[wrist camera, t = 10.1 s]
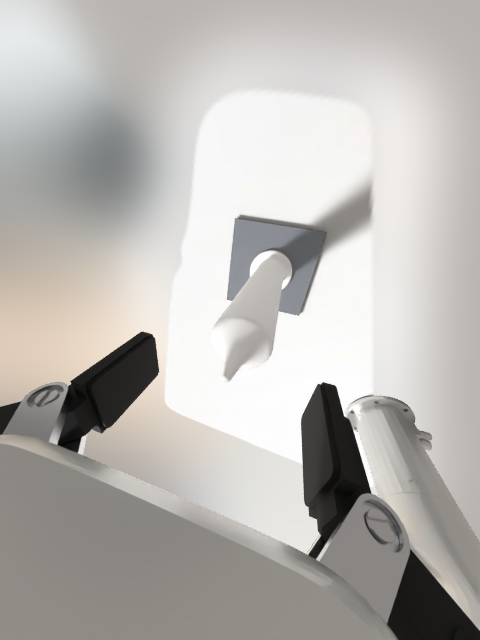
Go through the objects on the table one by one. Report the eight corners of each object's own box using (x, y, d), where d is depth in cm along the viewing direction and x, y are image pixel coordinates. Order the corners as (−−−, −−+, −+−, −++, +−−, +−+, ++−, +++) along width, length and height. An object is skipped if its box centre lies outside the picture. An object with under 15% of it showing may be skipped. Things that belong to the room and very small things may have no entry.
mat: (325, 232, 27) (326, 232, 27) (298, 313, 34) (299, 315, 34) (236, 218, 29) (235, 218, 29) (228, 298, 36) (226, 299, 36)
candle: (291, 247, 29) (292, 321, 7) (292, 290, 32) (294, 431, 10) (248, 252, 31) (147, 322, 9) (252, 292, 34) (185, 414, 12)
